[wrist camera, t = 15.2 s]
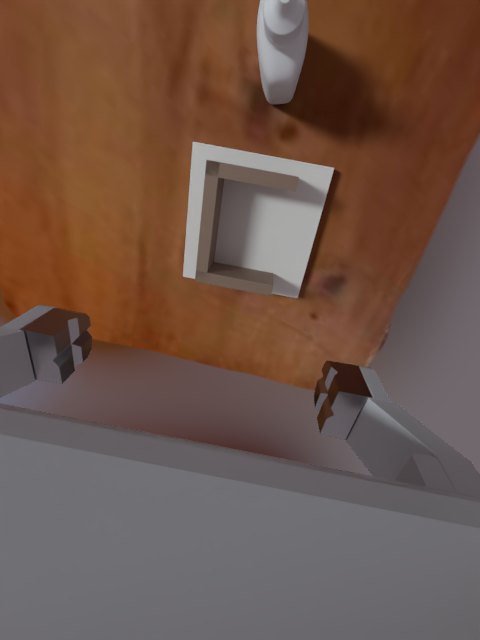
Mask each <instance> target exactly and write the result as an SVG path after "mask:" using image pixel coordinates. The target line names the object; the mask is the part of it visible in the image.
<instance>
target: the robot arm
mask: <svg viewBox="0 0 480 640" xmlns="http://www.w3.org/2000/svg"><path fill="white" fill-rule="evenodd" d="M90 326H91V324H90V317H89V316H88V315H87V314H85V313H81V312H76V311H71V310H67V309H62V308H57V307H52V306H47V305H38V306H36V307H35V308H33V309H31V310H29V311H28V312H26V313H24V314H23V315H21V316H19V317H18V318H16V319H14V320H12V321H11V322H9V323H7V324H6V325H4V326H2V327H1V326H0V398H1V397H3V396H5V395H7V394H9V393H11V392H13V391H15V390H17V389H19V388H21V387H23V386H26V385H28V384H30V383H32V382H34V381H35V380H41V381H47V382H53V383H59V384H63V382H65V381H66V380H67V379H68V378H69V376H70V375H71V374H72V373H73V372H74V371H75V367H74V366H75V365H78V364H80V363H83V362H84V361H85V360H86V359H87V358H88V356H89V354H90V351H91V349H92V336H91V335H90V334H89V332H88V331H87V329H88V328H89V327H90ZM322 373H323V377H322V378H321V379H319V380H318V381H317V384H316V387H315V393H314V404H315V408H316V409H317V410H318V411H319V414H318V416H317V421H318V427H319V432H320V434H321V435H326V436H330V437H335V438H339V439H343V440H346V441H347V443H348V444H349V446H350V447H351V448H352V450H353V451H354V452H355V453H356V455H357V456H358V458H359V459H360V460H361V461H362V463H363V464H364V465H365V467H366V468H367V469H368V471H369V472H370V473H371V474H372V476H369V475H364V474H358V473H354V472H348V471H343V470H338V469H332V468H327V467H322V466H317V465H312V464H307V463H302V462H297V461H292V460H286V459H281V458H276V457H271V456H266V455H261V454H256V453H251V452H246V451H241V450H236V449H230V448H226V447H220V446H216V445H210V444H205V443H200V442H195V441H190V440H185V439H179V438H174V437H169V436H164V435H159V434H154V433H148V432H143V431H138V430H133V429H128V428H123V427H118V426H112V425H107V424H102V423H97V422H92V421H87V420H82V419H77V418H71V417H66V416H61V415H56V414H51V413H46V412H41V411H36V410H31V409H26V408H20V407H15V406H10V405H5V404H0V640H480V474H479V473H478V471H477V470H476V468H475V467H474V465H473V464H472V463H471V461H469V460H468V459H467V458H466V457H464V456H463V455H462V454H460V453H459V452H458V451H457V450H455V449H454V448H453V447H451V446H450V445H449V444H448V443H446V442H445V441H444V440H443V439H441V438H440V437H439V436H437V435H436V434H435V433H434V432H432V431H431V430H430V429H428V428H427V427H426V426H425V425H423V424H422V423H421V422H420V421H418V420H417V419H416V418H414V417H413V416H412V415H411V414H409V413H408V412H407V411H406V410H404V409H403V408H402V407H400V406H399V405H398V404H396V403H395V402H391V401H390V400H389V397H388V396H387V394H386V392H385V390H384V388H383V386H382V384H381V382H380V380H379V378H378V376H377V374H376V372H375V370H374V369H372V368H370V367H364V366H357V365H351V364H345V363H339V362H333V361H326V362H325V364H324V366H323V368H322Z"/></svg>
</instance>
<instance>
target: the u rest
mask: <svg viewBox="0 0 480 640" xmlns="http://www.w3.org/2000/svg"><path fill="white" fill-rule="evenodd" d="M333 171H334V168H332V167H326V166H321V165H316V164H310V163H305V162H299V161H294V160H289V159H283V158H278V157H273V156H267V155H262V154H257V153H251V152H246V151H240V150H235V149H230V148H224V147H219V146H214V145H208V144H203V143H198V142H193V147H192V160H191V174H190V188H189V201H188V215H187V228H186V242H185V256H184V269H183V277H188V278H194V279H195V282H201V283H206V284H211V285H216V286H222V287H227V288H232V289H237V290H243V291H248V292H253V293H258V294H263V295H269V296H271V294H277V295H283V296H288V297H293V298H298V295H299V291H300V288H301V284H302V281H303V277H304V274H305V270H306V267H307V263H308V259H309V256H310V252H311V249H312V245H313V242H314V238H315V235H316V231H317V228H318V224H319V221H320V217H321V214H322V210H323V207H324V203H325V200H326V196H327V192H328V189H329V185H330V182H331V178H332V175H333Z"/></svg>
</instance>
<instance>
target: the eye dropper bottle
mask: <svg viewBox="0 0 480 640" xmlns="http://www.w3.org/2000/svg"><path fill="white" fill-rule="evenodd" d="M308 27H309V20H308V7H307V0H260V5H259V11H258V19H257V46H258V56H259V65H260V74H261V81H262V86H263V90H264V94H265V96H266V99H267V101H268V102H269V103H270V104H284V103H288V102H290V101H291V100H292V98H293V95H294V93H295V90H296V86H297V83H298V79H299V76H300V73H301V69H302V65H303V62H304V58H305V53H306V48H307V41H308Z"/></svg>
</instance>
